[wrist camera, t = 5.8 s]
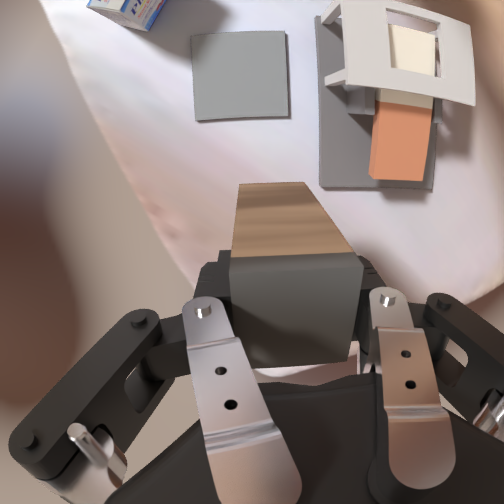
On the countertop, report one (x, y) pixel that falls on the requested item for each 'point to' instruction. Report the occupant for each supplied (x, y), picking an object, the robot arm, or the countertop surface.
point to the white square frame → (378, 85)
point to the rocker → (403, 111)
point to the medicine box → (129, 11)
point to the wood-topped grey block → (291, 278)
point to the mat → (239, 74)
